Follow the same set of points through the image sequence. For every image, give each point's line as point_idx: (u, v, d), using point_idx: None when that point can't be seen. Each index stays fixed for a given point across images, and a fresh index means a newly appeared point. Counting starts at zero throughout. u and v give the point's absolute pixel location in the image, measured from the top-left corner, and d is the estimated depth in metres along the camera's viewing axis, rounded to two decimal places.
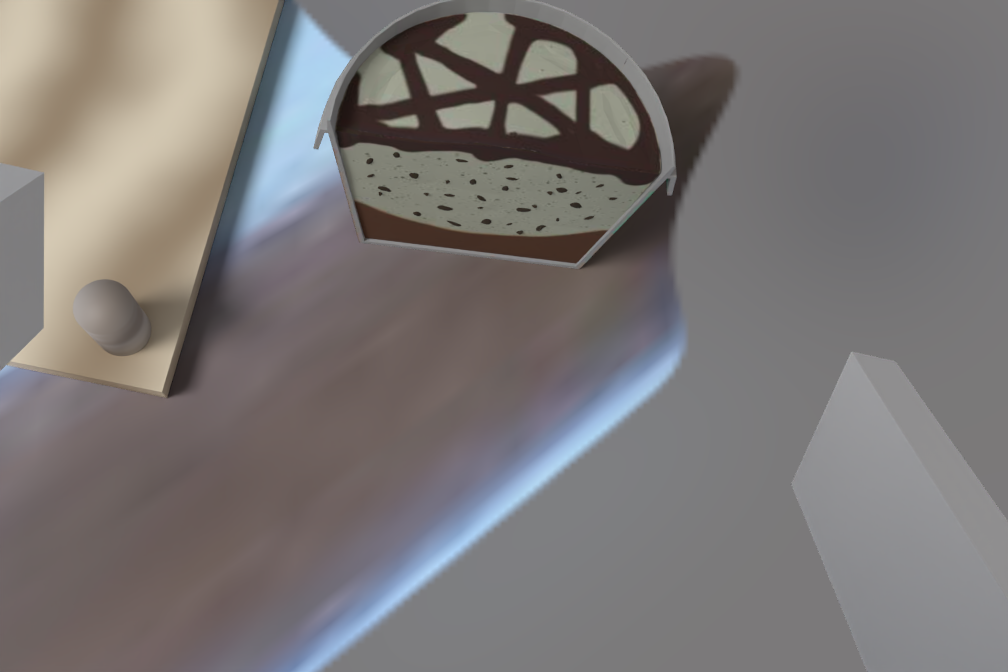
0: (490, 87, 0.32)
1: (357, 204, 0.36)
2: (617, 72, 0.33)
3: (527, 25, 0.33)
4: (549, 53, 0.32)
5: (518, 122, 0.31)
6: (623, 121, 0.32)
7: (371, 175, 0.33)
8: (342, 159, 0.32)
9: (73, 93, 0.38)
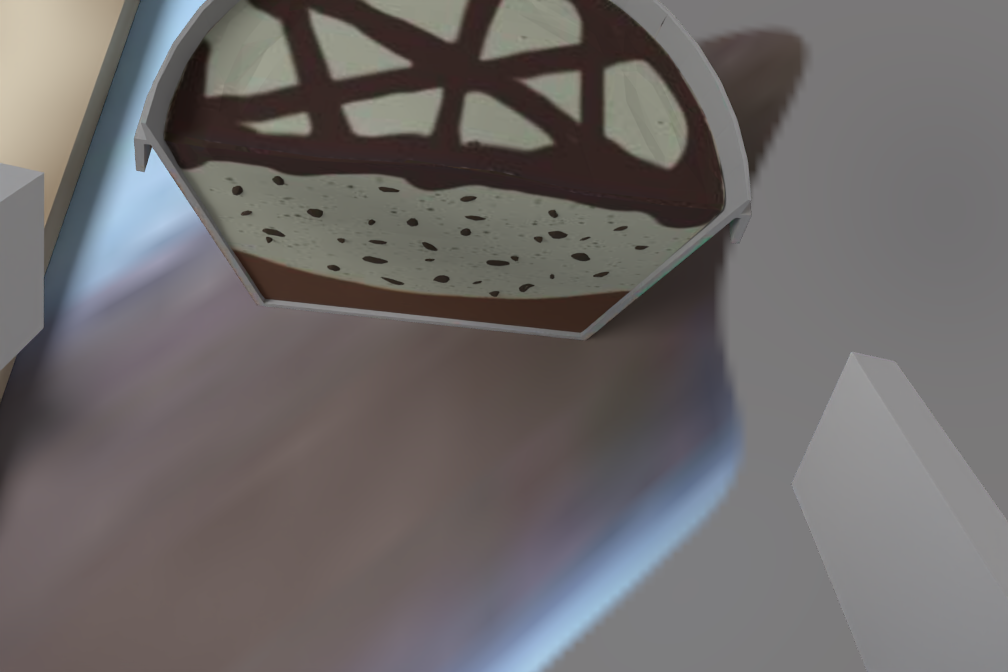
0: (436, 66, 0.19)
1: (238, 254, 0.23)
2: (649, 40, 0.20)
3: None
4: (535, 9, 0.20)
5: (482, 125, 0.18)
6: (660, 122, 0.19)
7: (247, 213, 0.20)
8: (193, 188, 0.20)
9: None
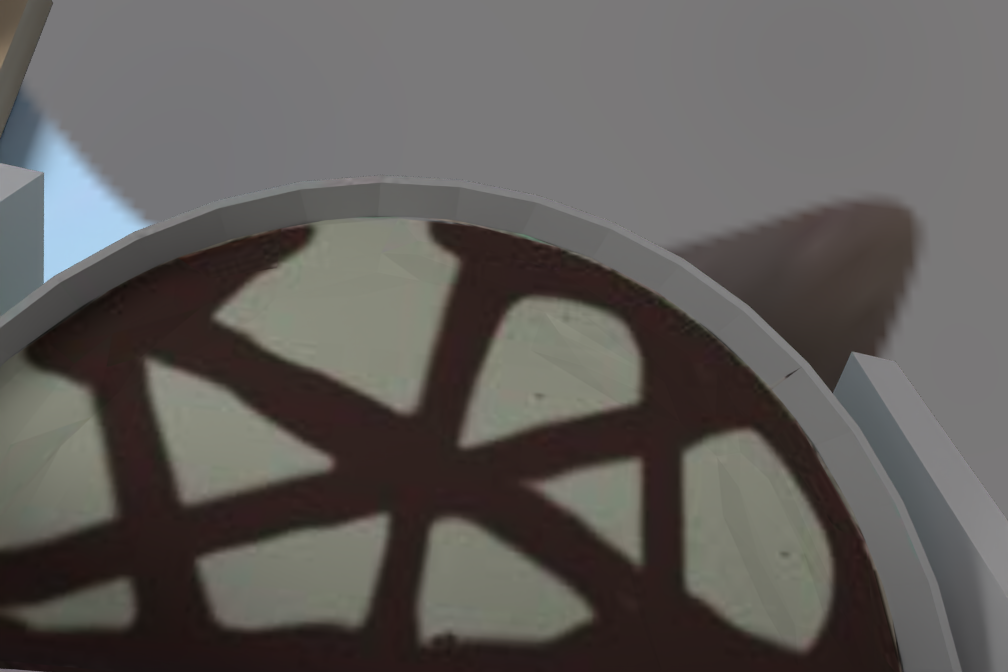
0: (379, 464, 0.10)
1: None
2: (760, 393, 0.11)
3: (496, 254, 0.11)
4: (559, 337, 0.11)
5: (462, 594, 0.10)
6: (784, 553, 0.11)
7: None
8: None
9: None
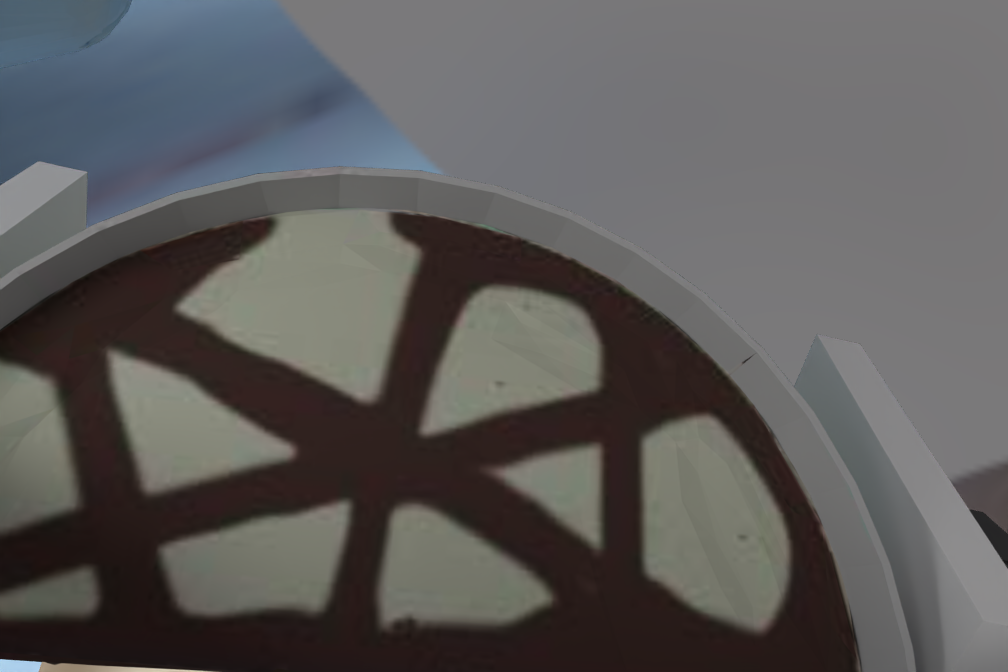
0: (341, 452, 0.10)
1: None
2: (718, 379, 0.11)
3: (457, 244, 0.11)
4: (520, 326, 0.11)
5: (421, 580, 0.10)
6: (741, 536, 0.11)
7: None
8: None
9: None
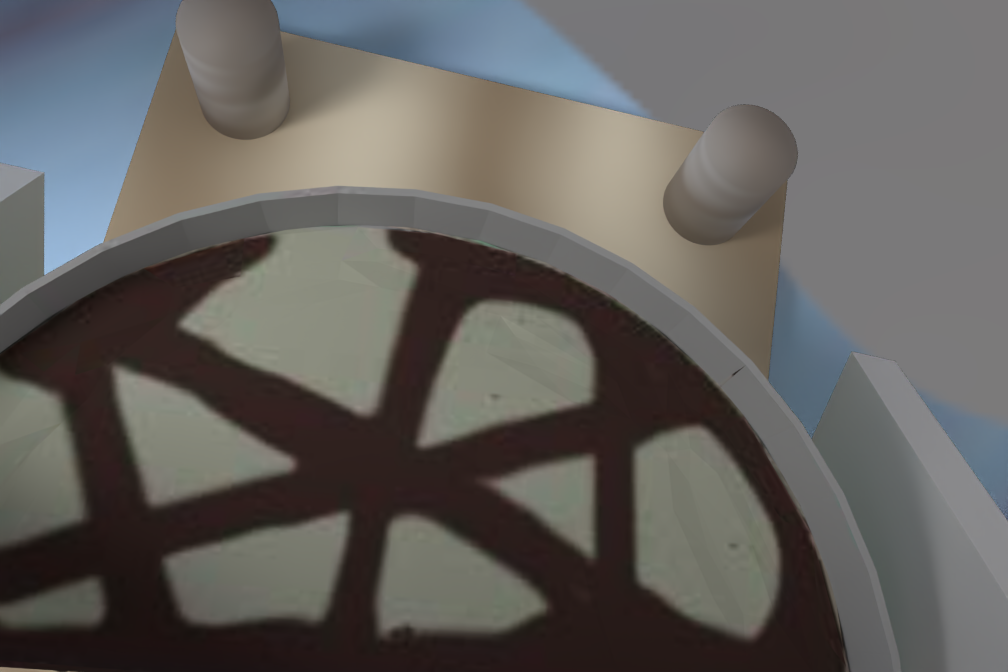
0: (340, 465, 0.11)
1: None
2: (709, 391, 0.11)
3: (453, 259, 0.12)
4: (515, 340, 0.11)
5: (419, 589, 0.10)
6: (732, 544, 0.11)
7: None
8: None
9: None
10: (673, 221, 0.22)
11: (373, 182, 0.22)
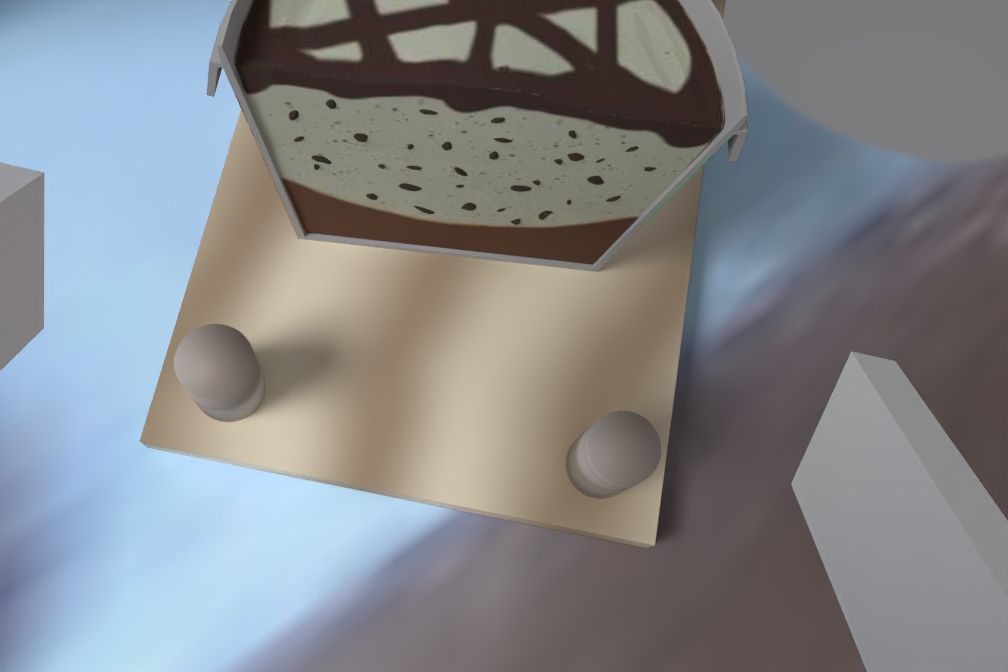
0: (470, 2, 0.21)
1: (287, 183, 0.25)
2: None
3: None
4: None
5: (511, 53, 0.21)
6: (666, 52, 0.22)
7: (300, 138, 0.23)
8: (254, 114, 0.22)
9: None
10: None
11: None
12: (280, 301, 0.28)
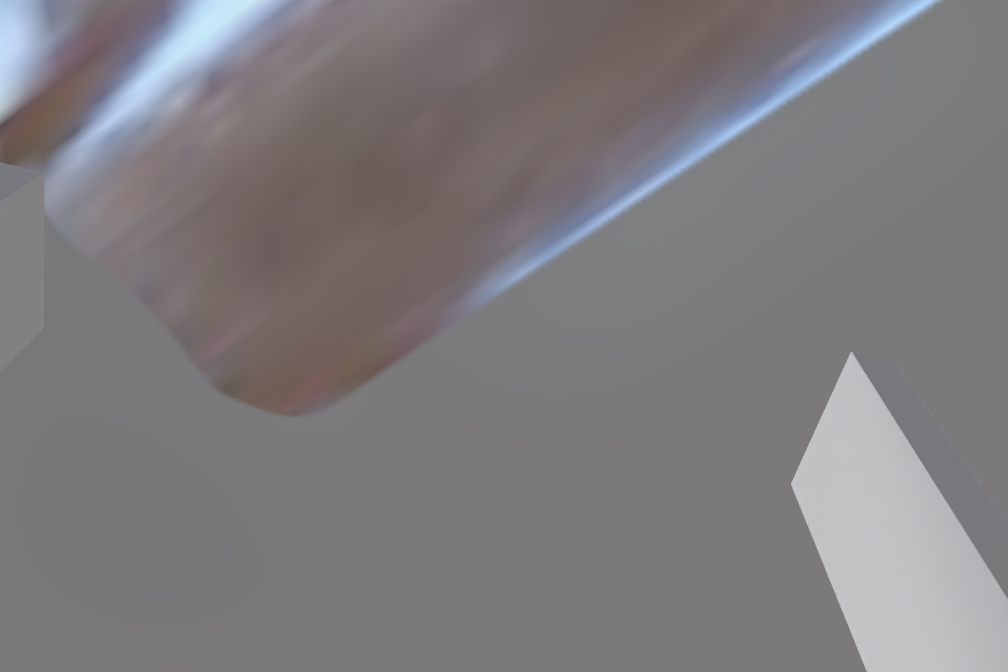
0: None
1: None
2: None
3: None
4: None
5: None
6: None
7: None
8: None
9: None
10: None
11: None
12: None
